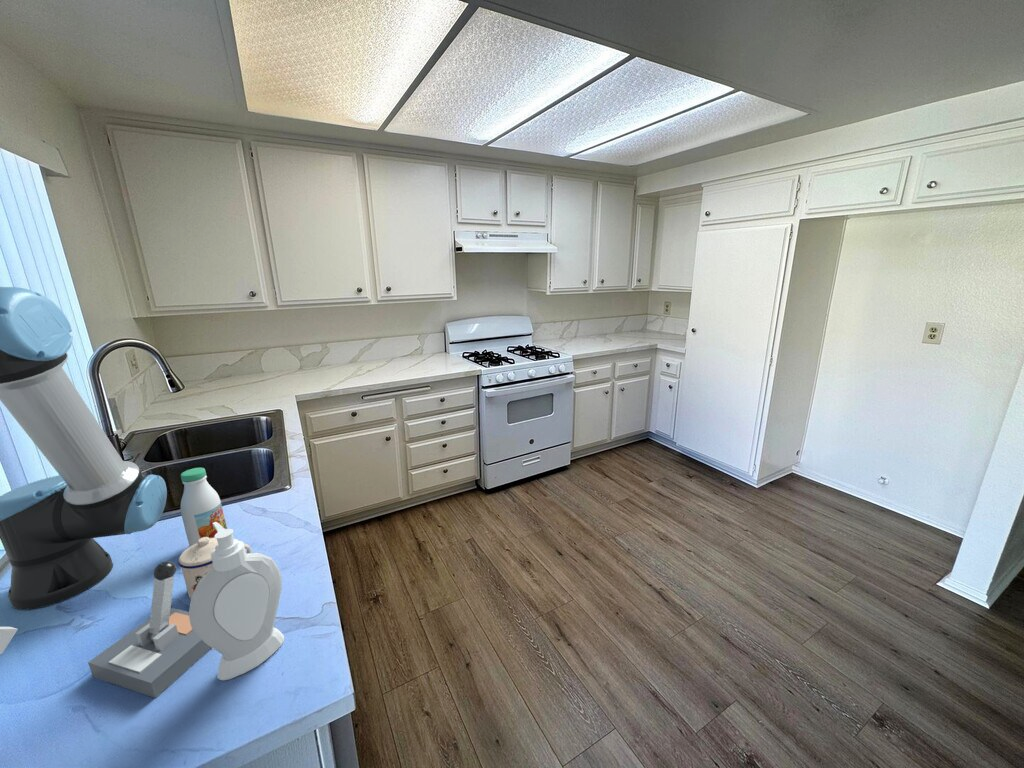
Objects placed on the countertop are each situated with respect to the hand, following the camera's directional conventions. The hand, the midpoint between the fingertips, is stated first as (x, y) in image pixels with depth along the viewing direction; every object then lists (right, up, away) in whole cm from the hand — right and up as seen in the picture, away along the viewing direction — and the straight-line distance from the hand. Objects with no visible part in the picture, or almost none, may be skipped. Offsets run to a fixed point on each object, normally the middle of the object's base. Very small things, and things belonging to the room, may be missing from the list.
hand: (6, 640), depth 52 cm
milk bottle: (-9, -7, +48) cm, 49 cm away
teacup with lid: (+3, -10, +35) cm, 37 cm away
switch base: (+4, -14, +18) cm, 24 cm away
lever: (+4, -10, +17) cm, 21 cm away
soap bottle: (+19, -14, +18) cm, 30 cm away
